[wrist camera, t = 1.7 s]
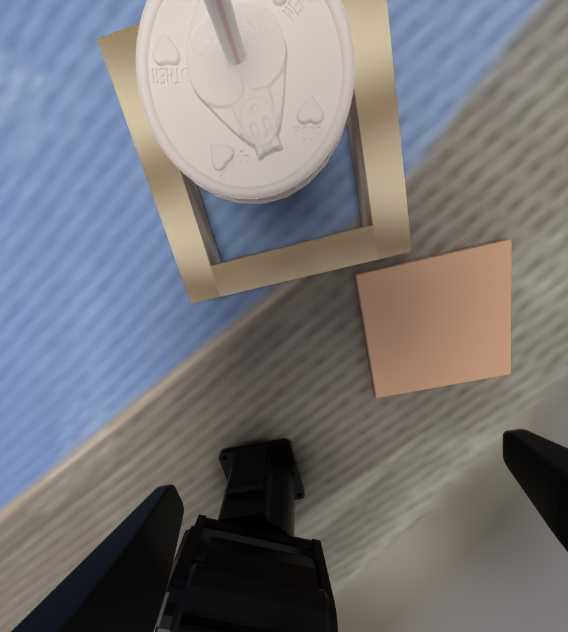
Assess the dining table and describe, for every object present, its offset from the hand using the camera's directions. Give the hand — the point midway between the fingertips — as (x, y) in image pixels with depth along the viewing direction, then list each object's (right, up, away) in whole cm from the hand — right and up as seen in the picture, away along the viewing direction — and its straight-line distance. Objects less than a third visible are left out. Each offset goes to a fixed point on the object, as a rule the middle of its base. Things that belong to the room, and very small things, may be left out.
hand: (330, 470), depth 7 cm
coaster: (+10, +4, +12) cm, 16 cm away
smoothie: (-2, +14, +10) cm, 17 cm away
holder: (-2, +14, +9) cm, 17 cm away
